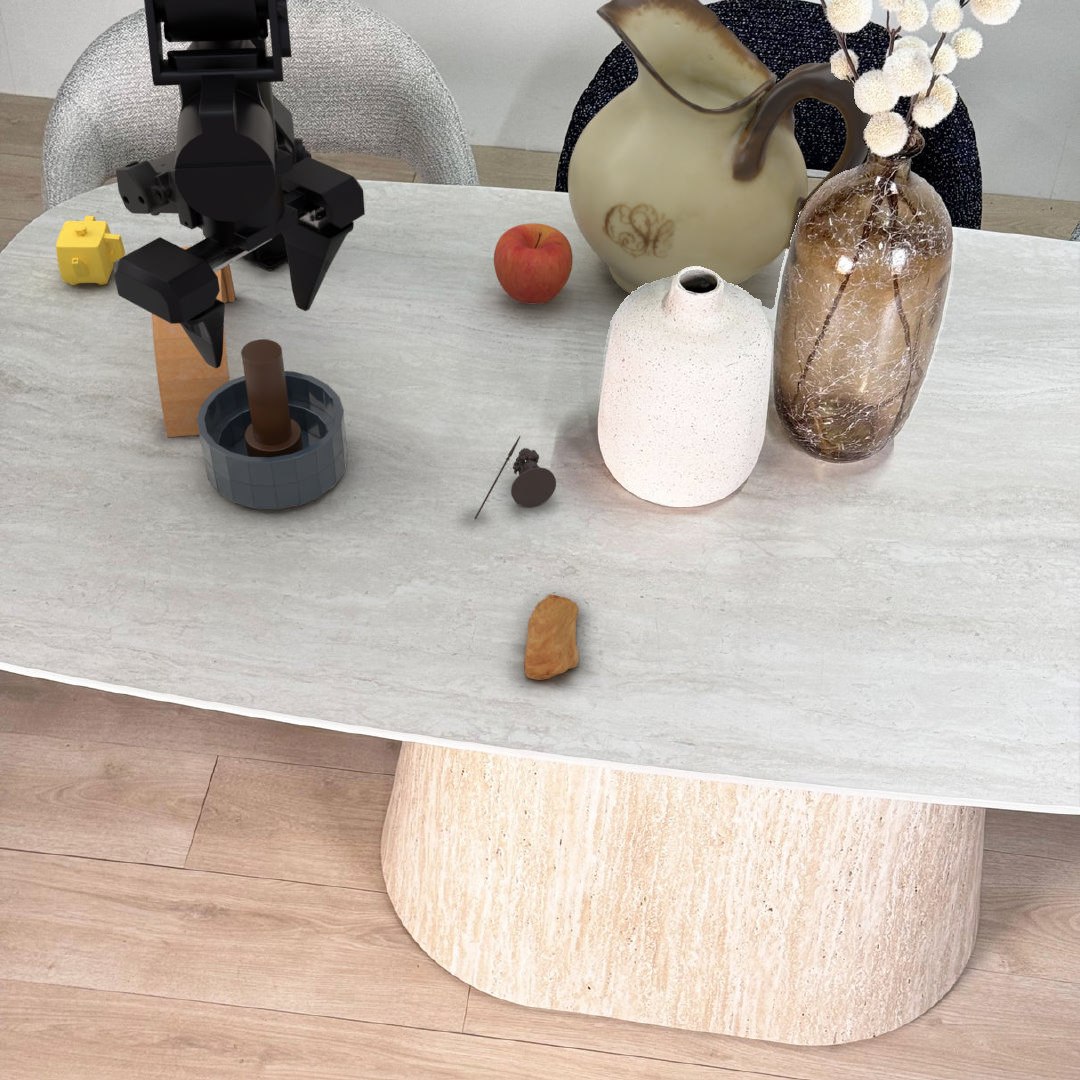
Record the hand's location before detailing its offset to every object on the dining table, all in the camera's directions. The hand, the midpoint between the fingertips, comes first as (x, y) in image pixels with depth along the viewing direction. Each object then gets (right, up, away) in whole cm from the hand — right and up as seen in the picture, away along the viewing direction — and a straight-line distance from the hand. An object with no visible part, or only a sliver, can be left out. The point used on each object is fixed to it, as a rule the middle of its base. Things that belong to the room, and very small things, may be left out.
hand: (259, 336), depth 94 cm
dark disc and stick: (+20, -11, +5) cm, 23 cm away
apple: (+20, +8, +27) cm, 35 cm away
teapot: (-22, +10, +27) cm, 36 cm away
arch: (-9, +1, +19) cm, 21 cm away
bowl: (-1, -9, +9) cm, 13 cm away
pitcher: (+35, +11, +32) cm, 49 cm away
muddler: (-1, -9, +9) cm, 12 cm away
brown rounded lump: (+19, -21, -3) cm, 29 cm away
